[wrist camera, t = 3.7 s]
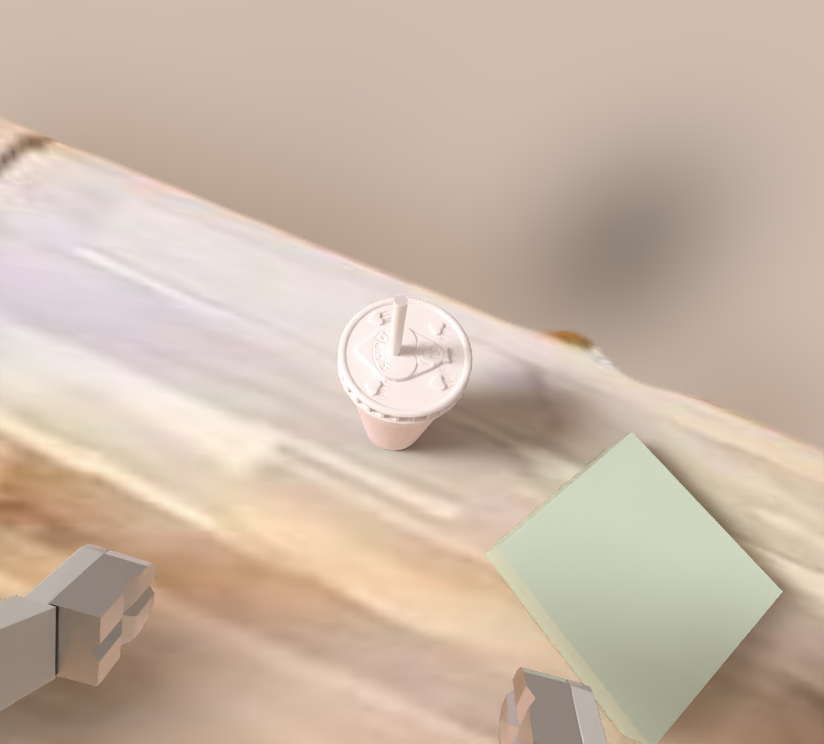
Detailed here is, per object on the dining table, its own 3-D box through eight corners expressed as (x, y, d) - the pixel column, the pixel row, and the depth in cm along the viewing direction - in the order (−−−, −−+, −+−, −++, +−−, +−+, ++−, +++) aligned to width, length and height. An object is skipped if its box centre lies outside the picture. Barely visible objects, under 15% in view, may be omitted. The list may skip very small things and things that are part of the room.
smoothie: (346, 374, 33) (337, 230, 20) (442, 379, 33) (492, 240, 21) (339, 470, 30) (325, 372, 18) (444, 473, 31) (503, 380, 18)
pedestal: (743, 593, 29) (782, 591, 27) (621, 734, 26) (652, 749, 23) (609, 446, 32) (631, 431, 30) (484, 553, 29) (496, 548, 26)
